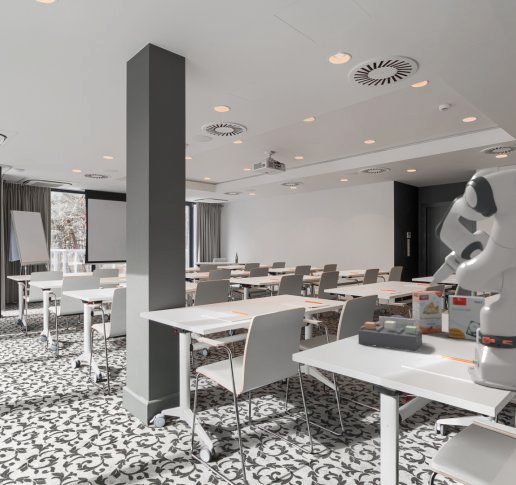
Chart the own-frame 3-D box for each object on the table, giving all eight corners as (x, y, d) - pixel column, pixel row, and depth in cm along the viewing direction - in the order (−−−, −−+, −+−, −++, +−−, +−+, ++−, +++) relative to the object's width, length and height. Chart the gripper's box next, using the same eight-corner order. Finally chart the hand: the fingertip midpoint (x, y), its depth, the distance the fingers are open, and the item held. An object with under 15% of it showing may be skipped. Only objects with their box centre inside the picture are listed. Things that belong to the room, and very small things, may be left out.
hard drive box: (448, 337, 185) (447, 296, 186) (448, 334, 192) (448, 294, 193) (485, 341, 178) (484, 298, 179) (484, 337, 185) (483, 296, 185)
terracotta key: (373, 329, 175) (373, 324, 175) (364, 328, 178) (364, 323, 178) (375, 327, 179) (375, 322, 179) (367, 326, 181) (367, 321, 181)
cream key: (393, 328, 171) (393, 323, 171) (384, 327, 173) (384, 322, 173) (395, 327, 174) (395, 321, 174) (386, 326, 176) (386, 320, 177)
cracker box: (419, 334, 194) (419, 292, 194) (412, 331, 199) (411, 291, 200) (443, 332, 197) (442, 291, 198) (434, 329, 203) (434, 290, 203)
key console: (416, 351, 161) (415, 327, 161) (358, 343, 174) (358, 321, 174) (424, 341, 177) (424, 320, 177) (371, 335, 191) (370, 315, 191)
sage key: (414, 334, 166) (414, 328, 166) (405, 333, 168) (405, 327, 168) (416, 332, 169) (416, 326, 170) (407, 331, 172) (407, 325, 172)
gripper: (452, 257, 169) (429, 278, 175) (447, 258, 152) (421, 281, 157) (464, 267, 167) (440, 288, 172) (460, 269, 150) (433, 293, 155)
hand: (431, 285), depth 165 cm, fingers closed
